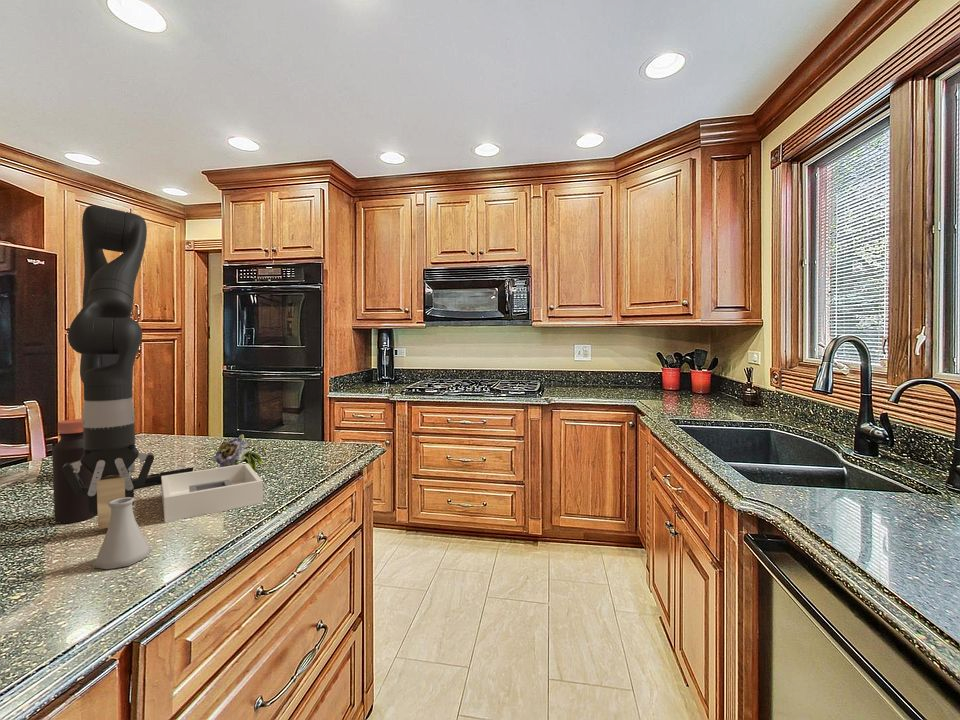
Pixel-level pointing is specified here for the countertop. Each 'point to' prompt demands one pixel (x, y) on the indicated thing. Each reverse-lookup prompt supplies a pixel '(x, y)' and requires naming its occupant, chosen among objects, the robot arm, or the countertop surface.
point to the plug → (108, 497)
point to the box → (210, 491)
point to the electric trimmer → (157, 477)
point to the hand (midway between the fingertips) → (112, 510)
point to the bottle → (65, 499)
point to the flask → (122, 538)
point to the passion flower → (237, 453)
